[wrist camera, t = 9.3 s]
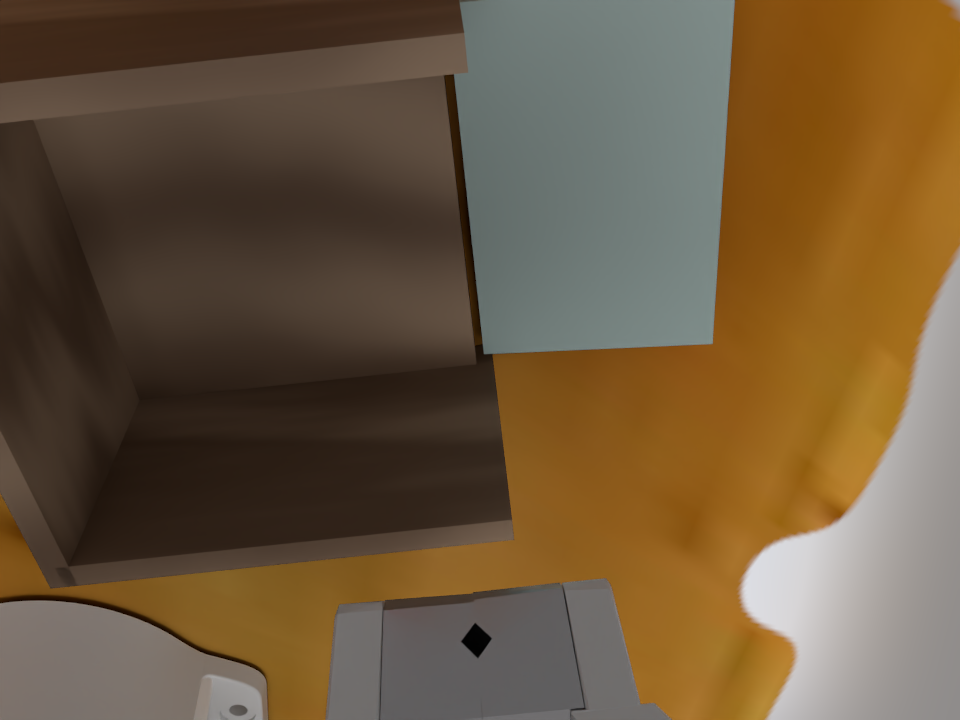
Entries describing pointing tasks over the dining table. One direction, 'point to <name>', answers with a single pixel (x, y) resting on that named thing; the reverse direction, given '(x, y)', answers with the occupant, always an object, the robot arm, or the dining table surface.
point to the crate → (236, 288)
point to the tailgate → (595, 169)
